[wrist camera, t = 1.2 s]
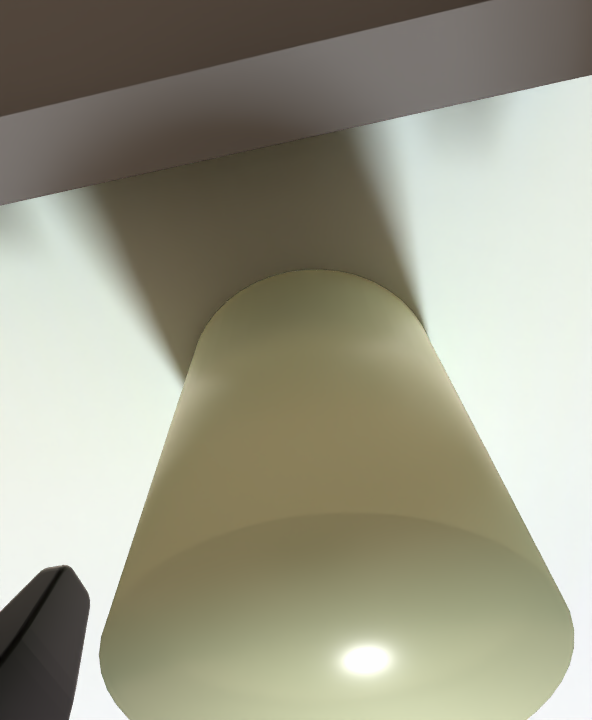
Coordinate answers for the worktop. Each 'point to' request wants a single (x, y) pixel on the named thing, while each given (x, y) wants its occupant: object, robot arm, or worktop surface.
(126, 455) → the worktop surface
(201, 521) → the salad tub
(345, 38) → the serving bin
